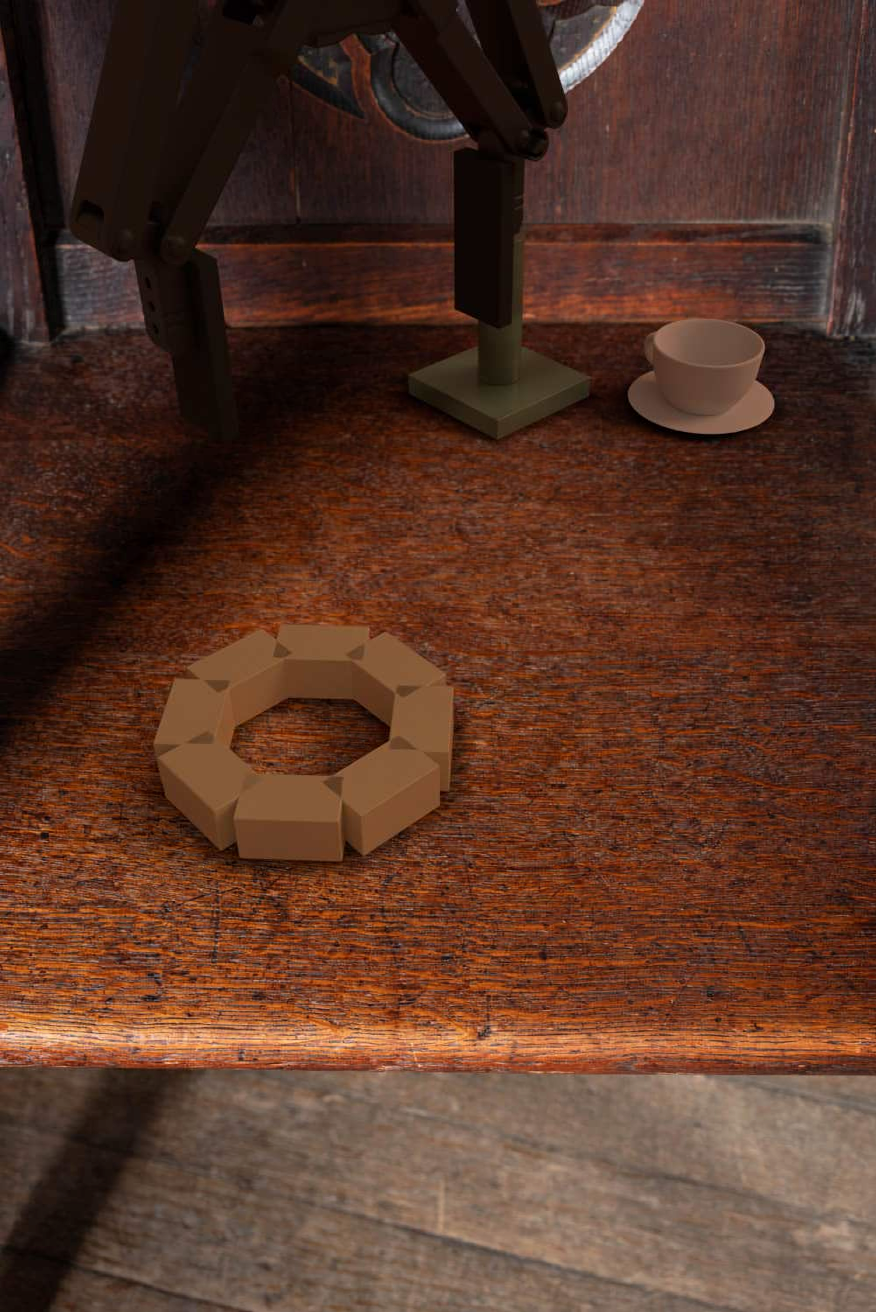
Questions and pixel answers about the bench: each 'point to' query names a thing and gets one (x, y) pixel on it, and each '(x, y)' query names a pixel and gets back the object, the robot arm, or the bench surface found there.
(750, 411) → the teacup
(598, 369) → the bench surface
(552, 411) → the stand
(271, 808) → the ring of blocks
